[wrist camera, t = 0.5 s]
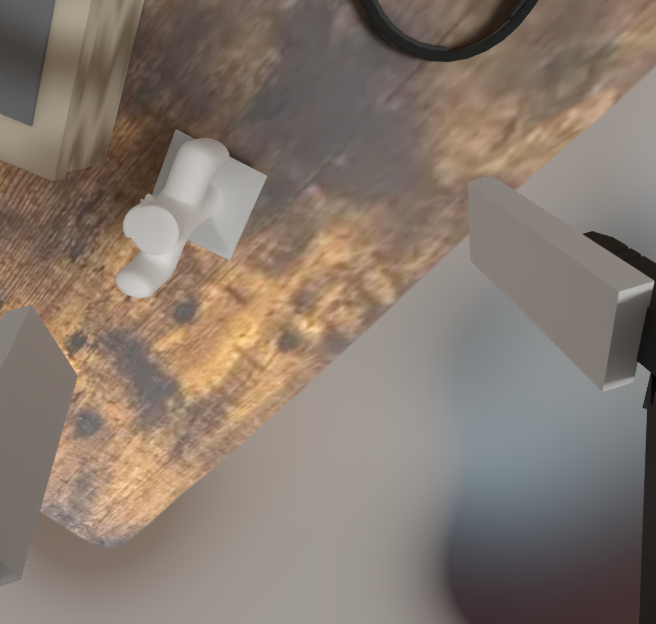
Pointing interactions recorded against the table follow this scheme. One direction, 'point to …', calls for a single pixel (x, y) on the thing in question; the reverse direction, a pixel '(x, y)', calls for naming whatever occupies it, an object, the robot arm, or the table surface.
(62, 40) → the bridge shelf
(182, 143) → the figurine
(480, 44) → the headset
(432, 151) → the table surface
